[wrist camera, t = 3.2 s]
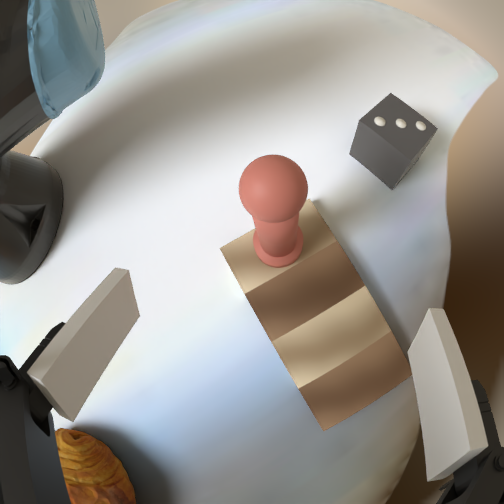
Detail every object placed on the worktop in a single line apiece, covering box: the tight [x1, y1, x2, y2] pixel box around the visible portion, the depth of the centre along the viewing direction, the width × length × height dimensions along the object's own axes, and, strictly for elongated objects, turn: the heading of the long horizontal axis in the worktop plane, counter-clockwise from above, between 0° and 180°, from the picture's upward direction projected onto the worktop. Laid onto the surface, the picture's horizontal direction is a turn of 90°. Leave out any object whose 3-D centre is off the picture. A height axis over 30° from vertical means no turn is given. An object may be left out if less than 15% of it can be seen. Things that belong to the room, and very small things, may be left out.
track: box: [220, 199, 412, 431], centre depth 21 cm, size 16×8×1 cm, turn 29°
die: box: [349, 93, 438, 190], centre depth 22 cm, size 5×5×5 cm
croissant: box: [55, 428, 136, 504], centre depth 17 cm, size 14×16×8 cm
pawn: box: [239, 155, 308, 268], centre depth 18 cm, size 4×4×11 cm
